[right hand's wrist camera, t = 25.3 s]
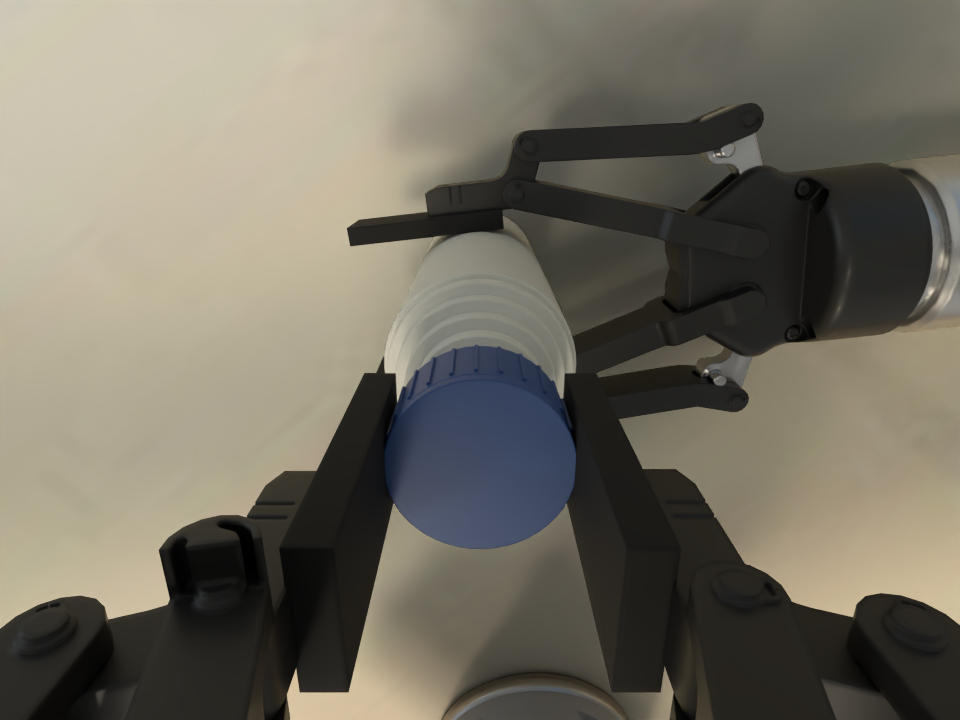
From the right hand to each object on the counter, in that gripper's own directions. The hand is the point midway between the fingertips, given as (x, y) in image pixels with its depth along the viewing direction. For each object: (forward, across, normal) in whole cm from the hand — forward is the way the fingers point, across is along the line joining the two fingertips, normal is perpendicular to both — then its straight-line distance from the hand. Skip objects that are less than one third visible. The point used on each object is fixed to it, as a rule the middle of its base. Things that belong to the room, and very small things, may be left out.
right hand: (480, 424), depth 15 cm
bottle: (+20, 0, 0) cm, 20 cm away
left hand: (+13, -5, -1) cm, 14 cm away
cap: (-2, 0, 0) cm, 2 cm away
